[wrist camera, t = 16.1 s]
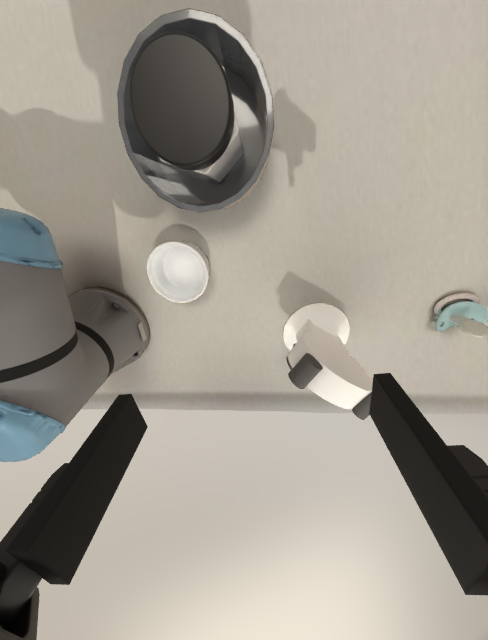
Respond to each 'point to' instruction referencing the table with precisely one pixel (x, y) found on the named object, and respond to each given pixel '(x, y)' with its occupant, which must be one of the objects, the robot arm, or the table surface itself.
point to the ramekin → (178, 271)
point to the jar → (185, 106)
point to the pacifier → (463, 315)
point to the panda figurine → (326, 358)
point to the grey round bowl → (248, 103)
